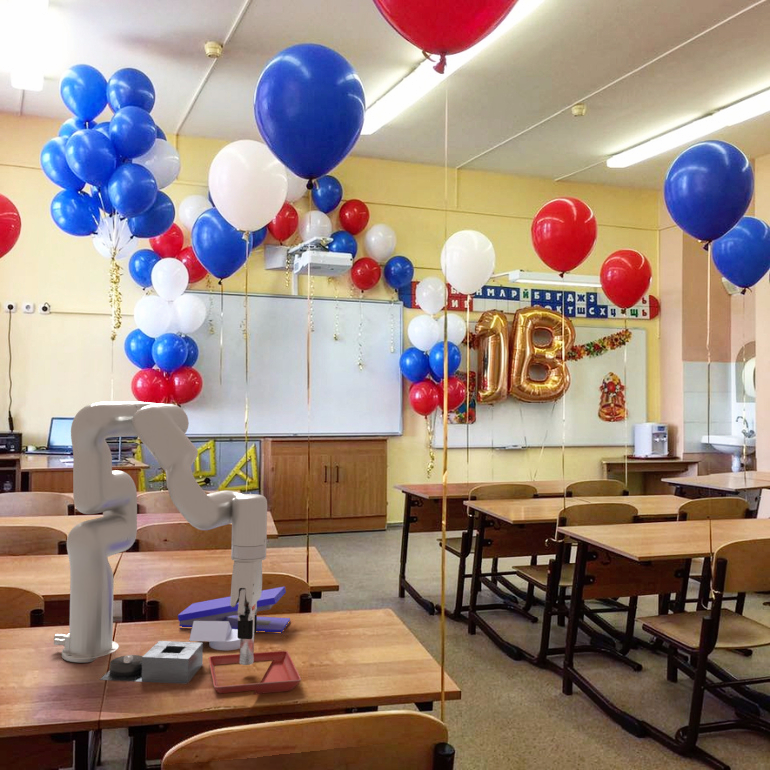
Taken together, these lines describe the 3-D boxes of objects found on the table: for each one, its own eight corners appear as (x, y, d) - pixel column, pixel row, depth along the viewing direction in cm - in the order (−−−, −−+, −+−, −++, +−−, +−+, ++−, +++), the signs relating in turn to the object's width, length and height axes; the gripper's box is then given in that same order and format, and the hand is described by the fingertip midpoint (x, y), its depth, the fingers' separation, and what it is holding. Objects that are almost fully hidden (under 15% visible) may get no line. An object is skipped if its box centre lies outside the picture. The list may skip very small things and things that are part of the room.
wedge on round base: (188, 655, 175) (243, 655, 175) (189, 626, 175) (244, 627, 175) (197, 642, 184) (249, 642, 184) (197, 615, 184) (250, 615, 184)
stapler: (281, 635, 191) (281, 597, 191) (176, 630, 193) (177, 592, 193) (290, 621, 202) (291, 586, 202) (191, 616, 205) (192, 581, 205)
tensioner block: (99, 685, 156) (99, 655, 156) (120, 665, 167) (121, 638, 167) (187, 689, 155) (187, 659, 155) (202, 669, 166) (203, 641, 166)
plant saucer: (287, 663, 172) (287, 649, 172) (301, 694, 155) (302, 678, 155) (207, 670, 167) (208, 655, 167) (213, 703, 149) (213, 687, 149)
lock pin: (237, 664, 160) (238, 603, 160) (241, 659, 163) (242, 599, 163) (251, 665, 159) (253, 604, 159) (255, 660, 163) (256, 599, 163)
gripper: (241, 543, 170) (239, 623, 169) (221, 559, 153) (219, 648, 153) (273, 544, 169) (271, 624, 169) (257, 560, 153) (255, 649, 153)
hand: (247, 635), depth 161 cm, fingers closed on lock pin, 2 cm apart
